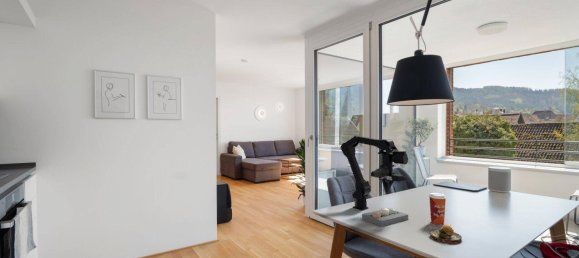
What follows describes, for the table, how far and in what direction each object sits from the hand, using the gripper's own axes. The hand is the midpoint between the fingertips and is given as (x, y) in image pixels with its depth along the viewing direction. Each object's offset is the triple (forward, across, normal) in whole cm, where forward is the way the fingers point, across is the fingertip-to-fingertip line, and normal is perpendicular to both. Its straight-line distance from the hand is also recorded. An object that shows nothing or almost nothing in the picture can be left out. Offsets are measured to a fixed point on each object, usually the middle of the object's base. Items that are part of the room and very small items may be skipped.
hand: (387, 191), depth 152 cm
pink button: (+12, +5, -13) cm, 18 cm away
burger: (+12, +35, -5) cm, 38 cm away
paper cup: (+12, +22, +10) cm, 27 cm away
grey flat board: (+12, +5, -8) cm, 15 cm away
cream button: (+10, +5, -7) cm, 14 cm away
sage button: (+11, +5, -1) cm, 13 cm away
